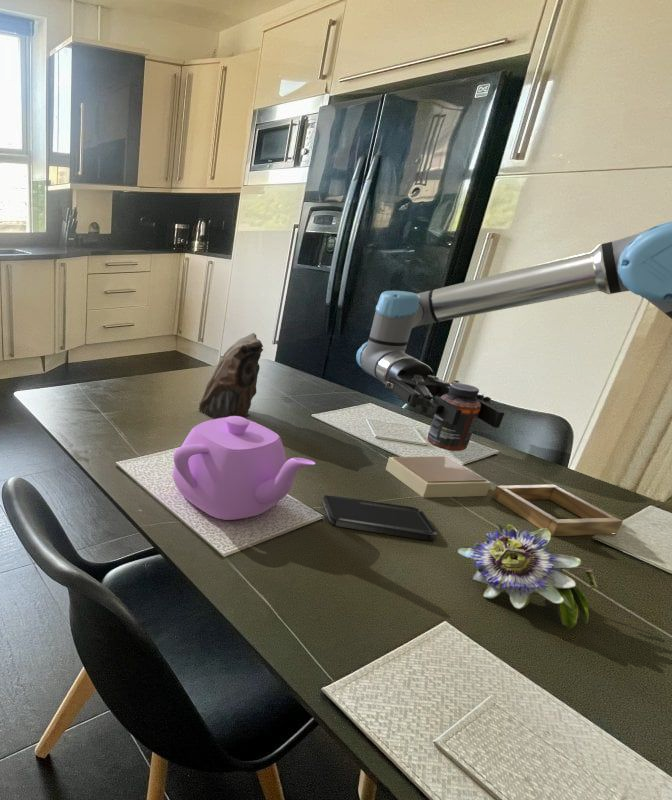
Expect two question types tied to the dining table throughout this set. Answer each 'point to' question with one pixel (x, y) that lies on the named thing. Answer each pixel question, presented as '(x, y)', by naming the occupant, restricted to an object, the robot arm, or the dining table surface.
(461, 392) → the supplement bottle
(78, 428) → the dining table surface
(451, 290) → the robot arm
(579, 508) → the rectangular wooden frame
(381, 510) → the phone
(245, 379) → the owl
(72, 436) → the dining table surface
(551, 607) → the dining table surface
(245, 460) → the teapot
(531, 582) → the passion flower
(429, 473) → the stand
